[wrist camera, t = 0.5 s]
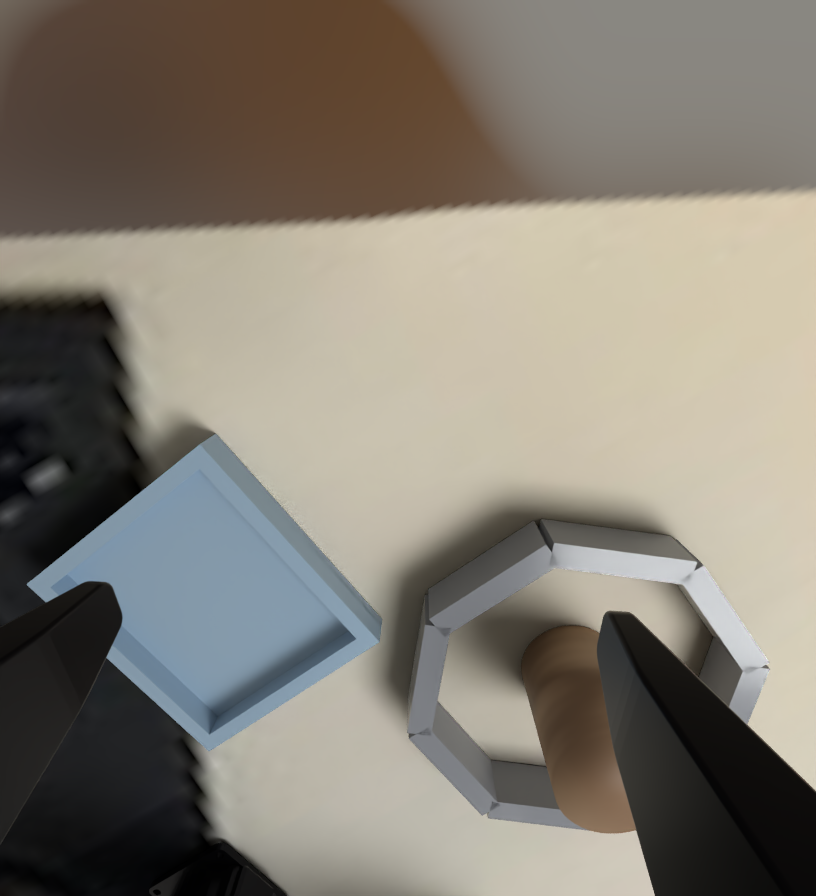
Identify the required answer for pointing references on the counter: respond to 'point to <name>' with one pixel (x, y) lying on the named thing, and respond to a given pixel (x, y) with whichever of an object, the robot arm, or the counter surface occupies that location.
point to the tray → (217, 596)
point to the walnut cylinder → (575, 728)
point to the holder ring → (507, 571)
